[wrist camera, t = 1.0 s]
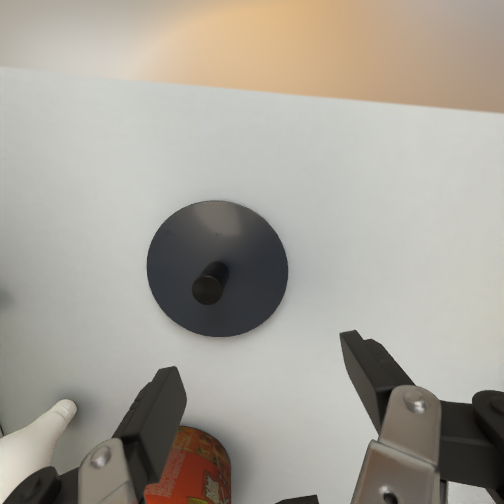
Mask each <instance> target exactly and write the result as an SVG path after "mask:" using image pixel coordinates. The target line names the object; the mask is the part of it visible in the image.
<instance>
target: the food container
mask: <svg viewBox="0 0 504 504" xmlns="http://www.w3.org/2000/svg"><path fill="white" fill-rule="evenodd" d="M144 495H145V498H146V501H147V504H231V463H230V459H229V456H228V454H227V452H226V450H225V448H224V447H223V446H222V445H221V443H220V442H219V441H218V440H216V439H215V438H214V437H212V436H211V435H209V434H207V433H205V432H203V431H201V430H198V429H195V428H190V427H187V426H179V427H178V430H177V433H176V436H175V439H174V442H173V445H172V447H171V450H170V453H169V456H168V459H167V462H166V465H165V467H164V470H163V473H162V476H161V479H160V482H159V483H155V484H149V485H147V486H146V488H145V491H144Z"/></svg>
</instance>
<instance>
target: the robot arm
mask: <svg viewBox="0 0 504 504" xmlns="http://www.w3.org/2000/svg"><path fill="white" fill-rule="evenodd" d="M340 341H341V347H342V352H343V357H344V362H345V366H346V370H347V372H348V375H349V377H350V379H351V381H352V383H353V385H354V387H355V389H356V391H357V393H358V395H359V397H360V399H361V401H362V403H363V405H364V407H365V409H366V411H367V413H368V415H369V417H370V419H371V421H372V423H373V425H374V427H375V429H376V431H377V433H378V435H379V437H378V440H377V441H375V440H373V439H372V440H371V441H370V443H369V445H368V448H367V451H366V454H365V458H364V461H363V464H362V468H361V471H360V474H359V477H358V481H357V484H356V487H355V490H354V494H353V497H352V500H351V504H448V485H449V481H451V482H456V483H462V484H467V485H472V486H477V487H483V488H485V489H486V490H487V491H488V493H489V494H490V496H491V497H492V498H493V500H494V501H495V503H496V504H504V392H500V391H494V390H485V391H480V392H477V393H476V394H475V395H474V396H473V398H472V404H467V403H456V402H447V401H442V400H439V399H438V398H437V397H436V396H435V395H434V394H433V393H431V392H430V391H428V390H426V389H424V388H422V387H419V386H416V385H415V384H414V383H413V381H412V380H411V379H410V378H409V377H408V375H407V374H406V373H405V372H404V371H403V369H402V368H401V367H400V366H399V365H398V363H397V362H396V361H394V359H393V357H392V356H391V355H390V354H389V353H388V351H387V350H386V349H385V348H384V347H383V346H382V344H380V343H378V342H376V341H375V340H373V339H367V340H363V339H362V337H361V336H360V334H359V333H358V332H357V331H356V330H353V331H348V332H343V333H340ZM186 401H187V398H186V392H185V389H184V386H183V383H182V380H181V377H180V374H179V372H178V369H177V367H175V366H172V367H167V368H163V369H159V370H158V371H157V373H156V375H155V377H154V378H153V380H152V382H149V383H148V384H147V385H146V386H145V387H144V388H143V389H142V390H141V391H140V392H139V394H138V396H137V397H136V399H135V400H134V403H133V404H132V405H131V407H130V410H129V411H128V412H127V414H126V415H125V417H124V418H123V420H122V422H121V423H120V425H119V427H118V428H117V430H116V431H115V433H114V435H113V436H112V438H111V439H108V440H106V441H104V442H102V443H100V444H99V445H97V446H96V447H95V448H93V449H92V450H91V451H90V452H89V453H88V454H87V455H86V457H85V458H84V459H83V461H82V463H81V465H80V467H78V468H75V469H73V470H71V471H69V472H67V473H65V474H62V475H60V476H59V475H58V473H57V471H56V469H55V468H54V467H51V466H49V467H45V468H42V469H40V470H38V471H36V472H34V473H33V474H31V475H30V476H28V477H27V478H26V479H24V480H23V481H22V482H21V483H20V484H19V485H18V486H17V487H16V488H15V489H14V490H13V491H12V492H11V493H10V495H9V496H8V497H7V498H6V500H5V501H4V502H3V503H2V504H147V501H146V498H145V495H144V491H145V488H146V486H147V485H149V484H155V483H159V482H160V479H161V476H162V473H163V470H164V467H165V465H166V462H167V459H168V456H169V453H170V450H171V447H172V445H173V442H174V439H175V436H176V433H177V430H178V427H179V425H180V422H181V419H182V416H183V413H184V410H185V407H186ZM276 504H319V502H318V498H317V495H311V496H304V497H298V498H291V499H285V500H282V501H280V502H278V503H276Z"/></svg>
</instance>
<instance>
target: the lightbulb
mask: <svg viewBox="0 0 504 504" xmlns="http://www.w3.org/2000/svg"><path fill="white" fill-rule="evenodd" d="M76 411H77V407H76V405H75V403H74V402H73V401H71V400H68V399H64V400H60V401H59V402H57V403H56V404H55V405H54V406H53V407H52V408H51V409H50V410H49V411H48V412H45V413H43V414H42V415H41V416H40V417H38V418H37V419H36V420H35V421H34V422H32V423H31V424H30V425H28V426H26V427H24V428H23V429H21V430H18V431H15V432H13V433H11V434H9V435H6V436H4V437H2V438H0V504H2V503H3V502H4V501H5V500H6V498H7V497H8V496H9V495H10V493H11V492H12V491H13V490H14V489H15V488H16V487H17V486H18V485H19V484H20V483H21V482H22V481H23V480H24V479H26V478H27V477H28V476H30V475H31V474H33V473H34V472H36V471H38V470H40V469H42V468H45V467H49V464H50V461H51V457H52V452H53V449H54V447H55V444H56V443H57V441H58V439H59V438H60V436H61V435H62V433H63V432H64V431H65V429H66V425H67V424H68V423H69V421H70V420H71V419H72V418H73V416H74V415H75V413H76Z"/></svg>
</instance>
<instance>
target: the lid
mask: <svg viewBox="0 0 504 504" xmlns="http://www.w3.org/2000/svg"><path fill="white" fill-rule="evenodd" d="M147 277H148V281H149V286H150V288H151V291H152V294H153V296H154V298H155V300H156V301H157V303H158V304H159V306H160V307H161V309H162V310H163V311H164V312H165V313H166V314H167V315H168V316H169V317H170V318H171V319H172V320H173V321H174V322H176V323H177V324H179V325H180V326H182V327H183V328H185V329H187V330H189V331H192V332H194V333H197V334H201V335H204V336H211V337H230V336H235V335H240V334H243V333H245V332H248V331H250V330H252V329H254V328H256V327H257V326H259V325H260V324H262V323H263V322H264V321H265V320H267V319H268V318H269V317H270V316H271V315H272V313H273V312H274V311H275V310H276V308H277V307H278V305H279V304H280V302H281V300H282V298H283V296H284V293H285V289H286V286H287V280H288V263H287V257H286V253H285V250H284V247H283V245H282V242H281V241H280V239H279V237H278V235H277V234H276V232H275V231H274V229H273V228H272V227H271V226H270V225H269V224H268V222H267V221H266V220H265V219H263V218H262V217H261V216H260V215H258V214H257V213H255V212H254V211H252V210H250V209H248V208H246V207H244V206H242V205H239V204H235V203H232V202H226V201H205V202H199V203H195V204H191V205H189V206H187V207H184V208H182V209H181V210H179V211H177V212H175V213H174V214H173V215H172V216H170V217H169V218H168V219H167V220H166V221H165V222H164V223H163V224H162V225H161V226H160V228H159V229H158V231H157V232H156V234H155V236H154V238H153V240H152V242H151V245H150V248H149V251H148V256H147Z"/></svg>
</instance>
